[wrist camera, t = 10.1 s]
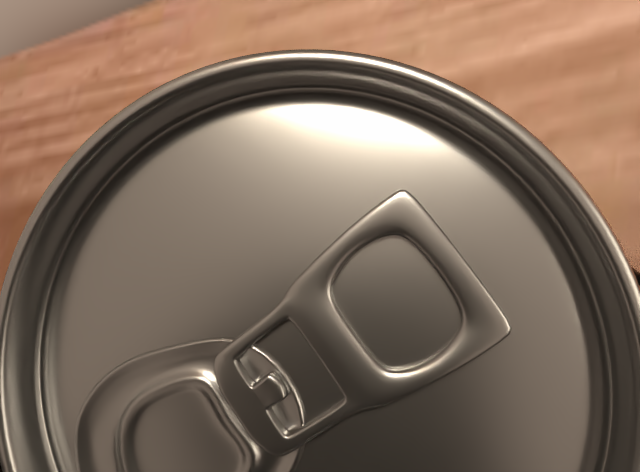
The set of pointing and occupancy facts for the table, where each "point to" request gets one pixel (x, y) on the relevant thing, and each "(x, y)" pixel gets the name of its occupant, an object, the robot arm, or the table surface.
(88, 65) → the table surface
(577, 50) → the table surface
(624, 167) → the table surface
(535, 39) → the table surface
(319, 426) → the can
